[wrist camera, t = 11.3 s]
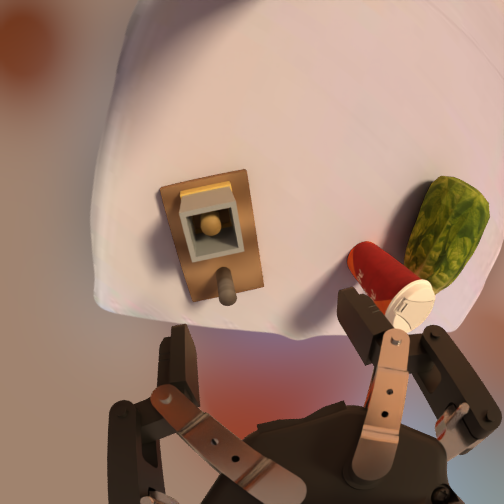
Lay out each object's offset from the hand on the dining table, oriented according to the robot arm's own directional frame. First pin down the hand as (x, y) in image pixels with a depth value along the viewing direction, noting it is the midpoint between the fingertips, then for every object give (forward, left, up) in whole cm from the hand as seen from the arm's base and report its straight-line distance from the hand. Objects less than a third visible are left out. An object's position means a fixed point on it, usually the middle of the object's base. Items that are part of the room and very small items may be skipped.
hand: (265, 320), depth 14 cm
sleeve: (+1, -2, -21) cm, 21 cm away
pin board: (+5, -2, -22) cm, 22 cm away
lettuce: (+10, +31, -22) cm, 39 cm away
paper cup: (+13, +19, -22) cm, 32 cm away
